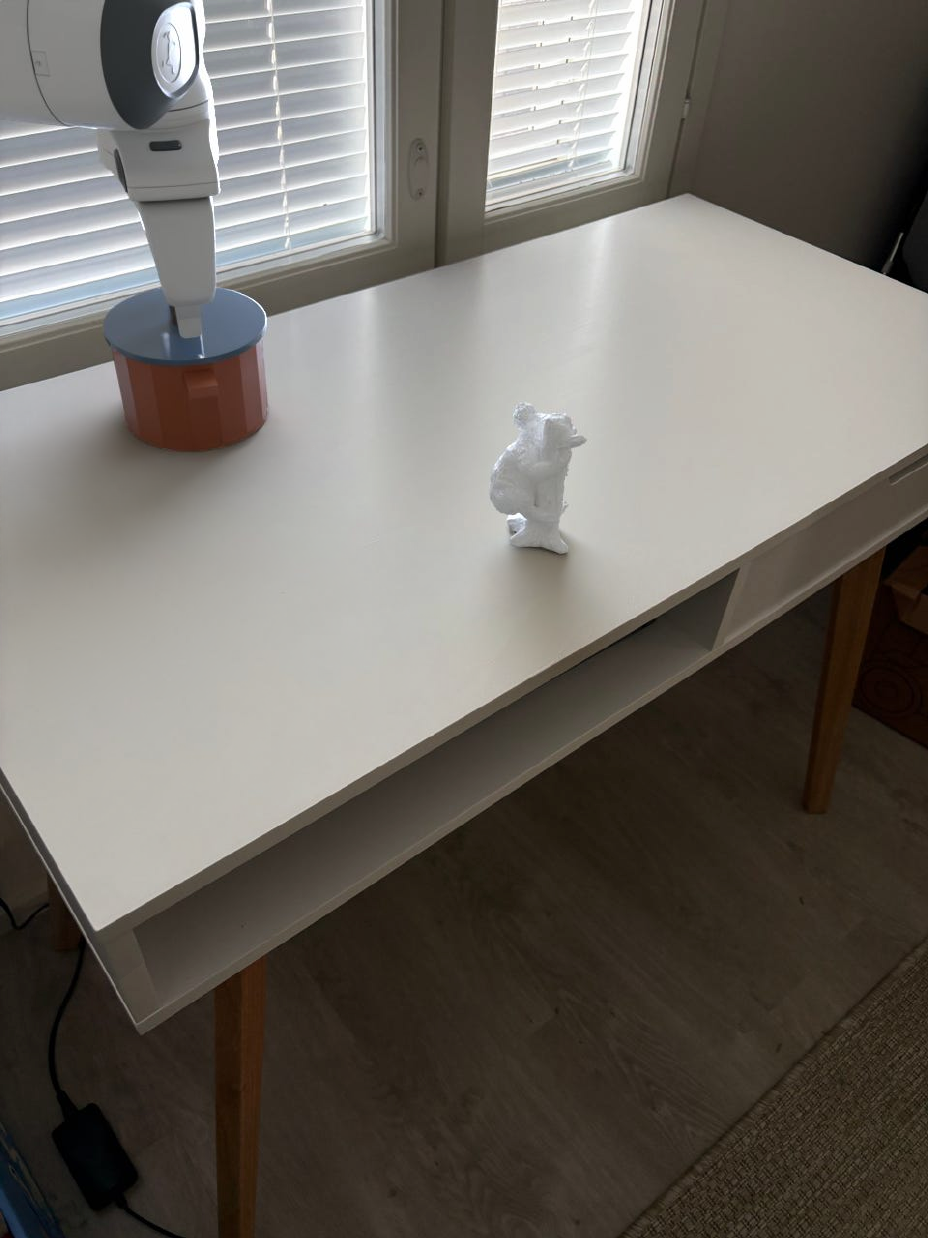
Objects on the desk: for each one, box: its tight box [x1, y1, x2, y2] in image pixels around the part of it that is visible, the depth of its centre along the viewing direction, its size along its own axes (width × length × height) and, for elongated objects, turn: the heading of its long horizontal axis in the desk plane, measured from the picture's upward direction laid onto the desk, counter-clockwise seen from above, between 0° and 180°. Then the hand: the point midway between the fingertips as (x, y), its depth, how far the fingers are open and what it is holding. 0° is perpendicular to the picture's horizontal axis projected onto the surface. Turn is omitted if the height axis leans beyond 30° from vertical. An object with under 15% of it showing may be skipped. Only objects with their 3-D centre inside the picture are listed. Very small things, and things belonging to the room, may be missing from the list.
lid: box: [102, 286, 268, 367], centre depth 85 cm, size 14×14×5 cm
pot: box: [110, 338, 269, 452], centre depth 90 cm, size 13×18×8 cm
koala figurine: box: [488, 402, 588, 555], centre depth 78 cm, size 8×7×12 cm
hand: (181, 307), depth 85 cm, fingers open, 8 cm apart
